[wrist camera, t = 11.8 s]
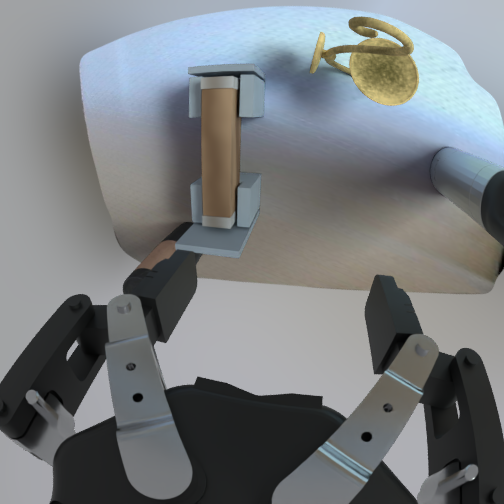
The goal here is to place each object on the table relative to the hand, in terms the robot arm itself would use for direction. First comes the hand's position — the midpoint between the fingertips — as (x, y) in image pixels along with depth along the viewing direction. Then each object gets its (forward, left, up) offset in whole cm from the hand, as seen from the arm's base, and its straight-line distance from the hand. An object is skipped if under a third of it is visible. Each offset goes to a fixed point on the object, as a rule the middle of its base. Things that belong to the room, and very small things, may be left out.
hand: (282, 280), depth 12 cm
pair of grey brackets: (+11, -1, -36) cm, 38 cm away
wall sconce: (-8, -15, -36) cm, 40 cm away
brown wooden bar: (+11, -1, -30) cm, 32 cm away
